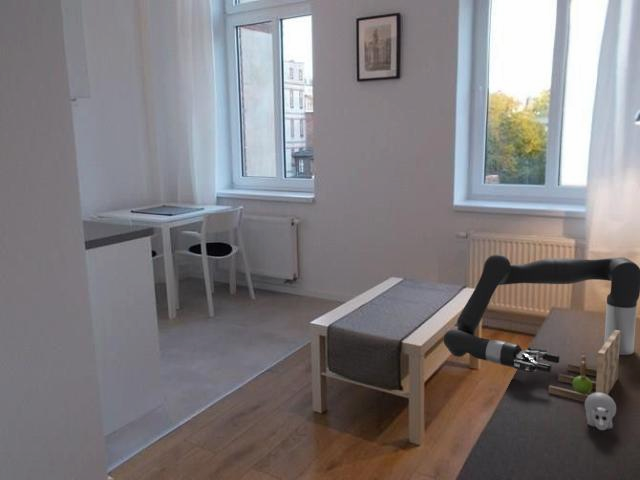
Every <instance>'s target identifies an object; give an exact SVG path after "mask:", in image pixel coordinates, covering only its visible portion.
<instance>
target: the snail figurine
mask: <svg viewBox="0 0 640 480" xmlns="http://www.w3.org/2000/svg"><path fill="white" fill-rule="evenodd" d="M583 354H587V352H586V351H581V357H580V359H581V360H580V364H579V365H580V373H579V375H577V376H575V377H576V378H575V379H574V380H573V383H572V384H571V385H572V388H573V391H576V392H580V393H584V394H588V395H589V393H591V391H592V390H593V389H592V382H591V381H592V380H591V379H590V378H589V377H587V376H586V375H587V374H586V367H587V361H586V359H587V358H586V355H583Z"/></svg>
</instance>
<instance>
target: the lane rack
mask: <svg viewBox="0 0 640 480" xmlns="http://www.w3.org/2000/svg"><path fill="white" fill-rule="evenodd" d="M619 346H620V331H619V330H615V331H614V332H613V333H612V335H611V336H610V337H609V339H608V340H607V341H606V343H605V344H603V345H602V347H601V348H600V349H599V350H598V351H597V360H596V361H597V362H596V363H597V365H596V368H594V367H588V366H586V375H589V376H593V377H596V378H595V379H596V380H590V381H591V382H592V390H595V393H596V392H601V393H605V394H607V395H609V394H610V392H611V390H612V389H613V387H614V385H615V384H616V382H617V380H618V375H619V361H620V360H619V357H620V355H619ZM567 371H570V372H574V371H575V372H576V373H578V374H580V364H575V363H570V362H568V363H567ZM576 377H577V376H571V375H567V374H563V373H559V374H558V382H561V383H565V382H566V383H565V384H569V383H570V385H572V383H573V380H574V379H575V378H576ZM548 394H551V395H556V396H559V397H564V398H567V397H568V398H567V399H571V398H572V400H575V401H578V402H584V403H585V401H586V399H587V397H588V396H589V395H590V394H589V393H588V394H584V393H580V392H576V391H575V390H571V389H567V388H564V387H563V388H562V387H559V386H554V385H552V384H550V385H549V386H548Z"/></svg>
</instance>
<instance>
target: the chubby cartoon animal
mask: <svg viewBox="0 0 640 480" xmlns="http://www.w3.org/2000/svg"><path fill="white" fill-rule="evenodd" d="M588 395H589V396H588V397H587V399H586V401H585V402H584V409H585V411H586V413H585V417H586V418H587V419H586V423H587V424H588V426H591V427H596V428H597V430H600V431H605V430H610V429H613V427H614V426H613V418H614V417H615V416H616V413H617V405H616V404H617V403H616V402H615V401H614V399H613V398H612V397H611V396H610V395H609V394H608V395H607V394H605V393H601V392H596V391H595V392H593V393H591V394H588Z"/></svg>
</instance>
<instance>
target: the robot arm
mask: <svg viewBox="0 0 640 480" xmlns="http://www.w3.org/2000/svg"><path fill="white" fill-rule="evenodd" d="M591 280H597V281H599V280H600V281H607V282H608V281H609V282H610V281H611V283H610V292H609V293H608V294H607V295H606V311H605V326H604V328H605V329H604V342H603V343H604V344H605V343H606V341H607V340H608V339H609V337H610V336H611V335H612V333H613V332H614V331H615V330H619V331H620V346H619V356H629V355H630V356H631V355H632V354H634V351H635V350H634V348H635V334H636V320H637V308H638V307H637V305H638V300H639V298H640V267H639V264H637V263H635V262H634V261H632V260H630V259H628V258H627V257H623V256H622V257H619V256H618V257H607V258H597V259H587V258H570V257H569V258H568V257H567V258H565V257H564V258H563V257H559V258H558V257H555V258H553V257H552V258H551V257H550V258H544V259H539V260H535V261H531V262H527V263H521V264H520V263H519V264H516V263H515V264H514V263H513V264H512V263H511V262H510V259H509V258H508V257H506V256H505V255H503V254H497V253H495V254H493V255H490V256H489V257H488V258H487V259H486V260H485V261H484V263H483V269H482V273H481V275H480V278H479V280H478V283H477V284H476V287H475V288H474V291H473V292H472V294H471V295H470V297H469V298H468V300H467V302H466V303H465V305H464V307H463V309H462V311H461V312H460V314H459V317H458V318H457V321H456V324H457V329H452V330H448V331H447V332H445V334H444V335H443V337H442V338H443V344H444V346H445V347H446V348H447V350H448V351H449V353H451V354H452V355H453V356H454V357H456V358H457V357H458V358H460V357H461V358H462V357H463V356H466V354H469V355H470V356H472V357H473V358H476V359H479V360H483V361H487V362H491V363H493V364H497V365H501V366H505V367H510V368H513V369H517V370H520V371H524V372H528V373H534V371H535V372H536V371H540V372H543V373H551V371H552V365H550V364H546V363H542V362H541V361H546V362H550V363H554V364H559V363H560V356H559V355H556V354H551V353H548V350H547V349H542V348H537V347H531V346H529V347H527V349H526V350H522V348H521V346H520V344H518V343H513V342H507V341H502V340H498V339H497V340H496V339H495V340H493V339H489V338H483V337H478V336H476V335H475V334H476V330H477V329H478V327H479V325H480V323H481V321H482V319H483V317H484V315H485V313H486V311H487V309H488V306H489V303H490V302H491V299H492V297H493V295H494V292H496V289H497V287H498V286H503V285H506V286H507V285H515V284H537V285H540V284H541V285H543V284H544V285H545V284H546V285H548V284H549V285H568V284H569V285H571V284H576V283H581V282H584V281H591ZM604 344H603V345H604Z"/></svg>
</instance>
